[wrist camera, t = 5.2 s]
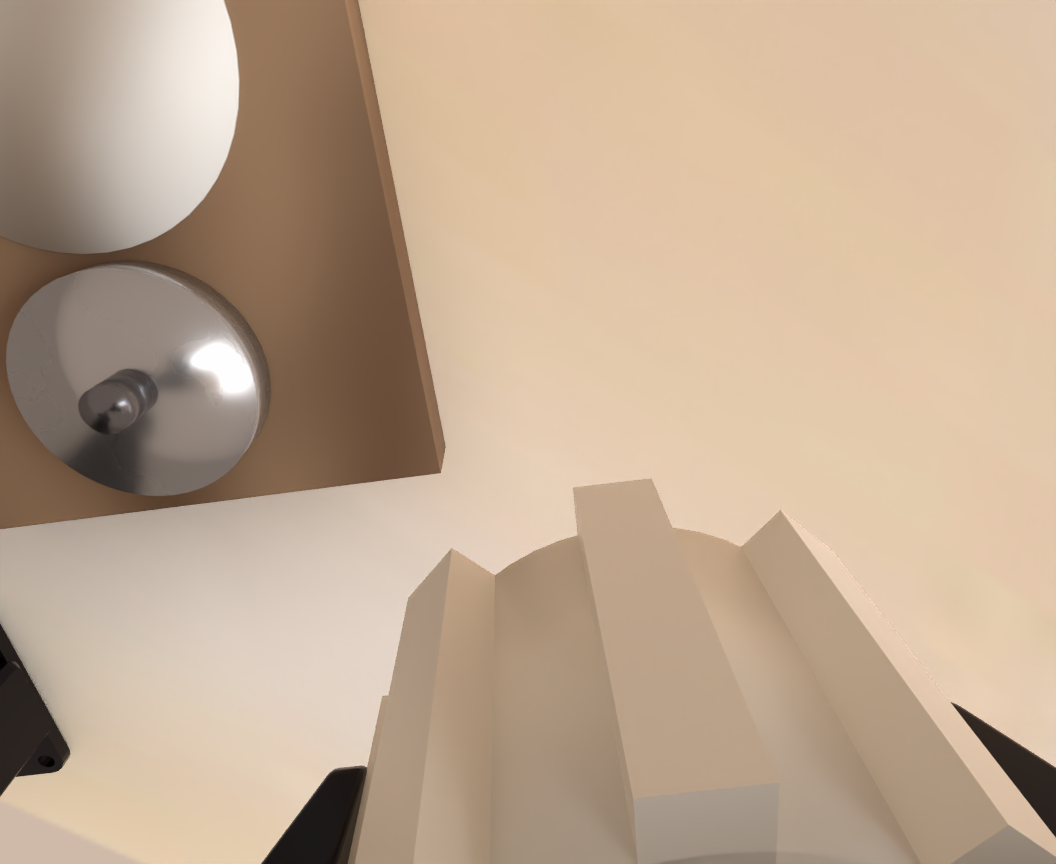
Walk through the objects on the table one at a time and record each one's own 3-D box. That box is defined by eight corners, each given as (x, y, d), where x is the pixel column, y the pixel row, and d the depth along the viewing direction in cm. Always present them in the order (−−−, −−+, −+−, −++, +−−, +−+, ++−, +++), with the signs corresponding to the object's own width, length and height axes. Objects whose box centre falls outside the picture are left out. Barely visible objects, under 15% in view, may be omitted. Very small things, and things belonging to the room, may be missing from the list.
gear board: (8, 503, 19) (-34, 535, 17) (-552, -617, 11) (-720, -734, 9) (445, 447, 18) (440, 474, 17) (210, -753, 10) (161, -897, 9)
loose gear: (430, 877, 11) (389, 1298, 7) (334, 514, 8) (179, 868, 4) (850, 831, 10) (1050, 1235, 7) (893, 450, 8) (1259, 753, 4)
